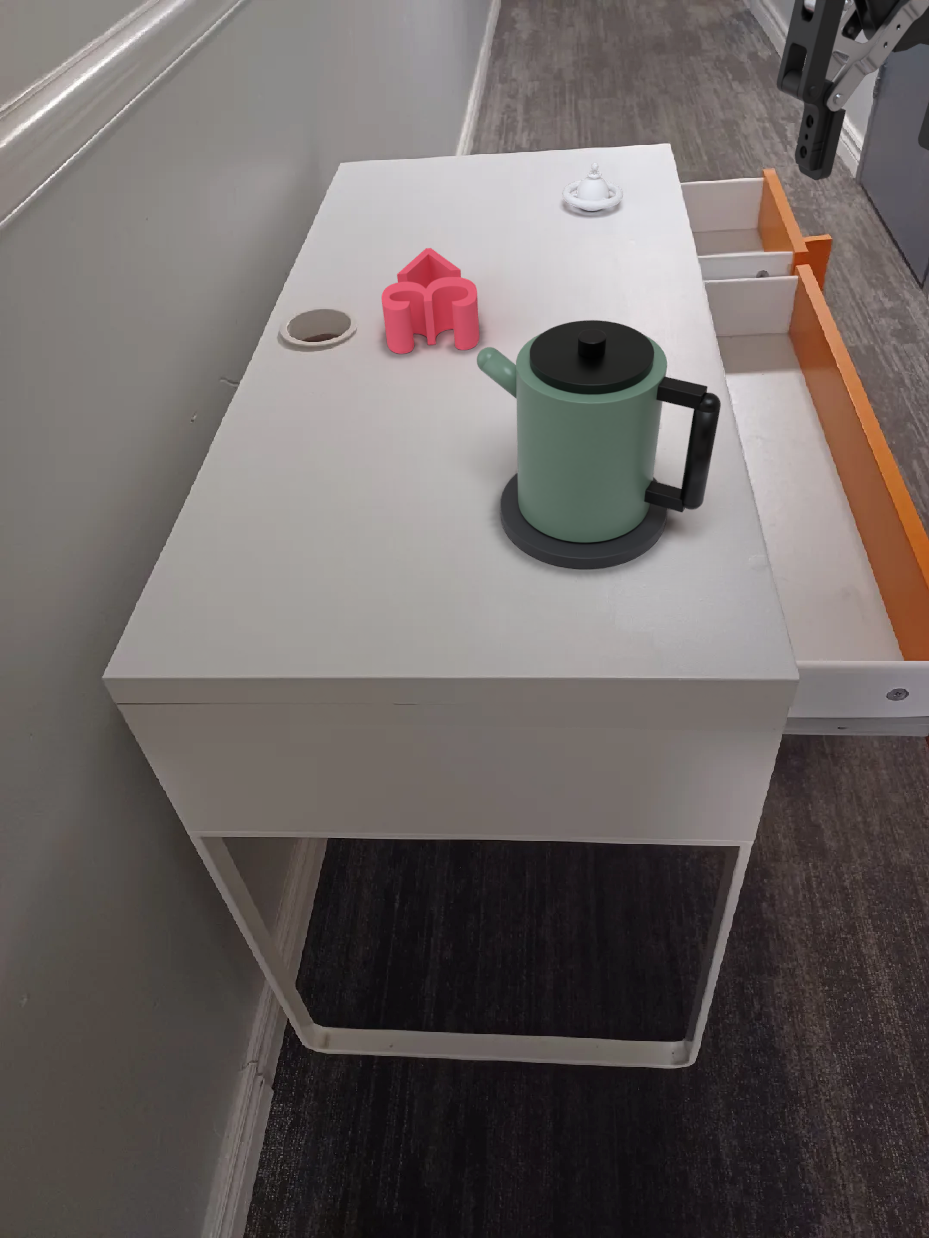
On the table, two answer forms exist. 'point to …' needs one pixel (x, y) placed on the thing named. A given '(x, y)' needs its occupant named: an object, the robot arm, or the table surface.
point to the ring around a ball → (592, 192)
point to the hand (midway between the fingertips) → (874, 162)
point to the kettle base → (578, 552)
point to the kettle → (598, 429)
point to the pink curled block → (430, 304)
